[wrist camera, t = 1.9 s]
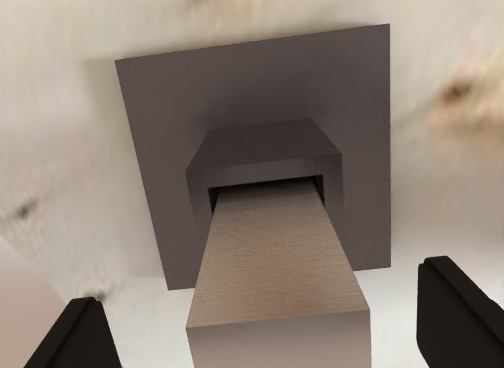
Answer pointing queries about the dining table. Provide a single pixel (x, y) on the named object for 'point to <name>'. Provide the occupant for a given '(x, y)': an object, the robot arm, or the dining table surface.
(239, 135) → the stand housing
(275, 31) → the dining table surface
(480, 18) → the dining table surface
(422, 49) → the dining table surface
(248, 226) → the column
